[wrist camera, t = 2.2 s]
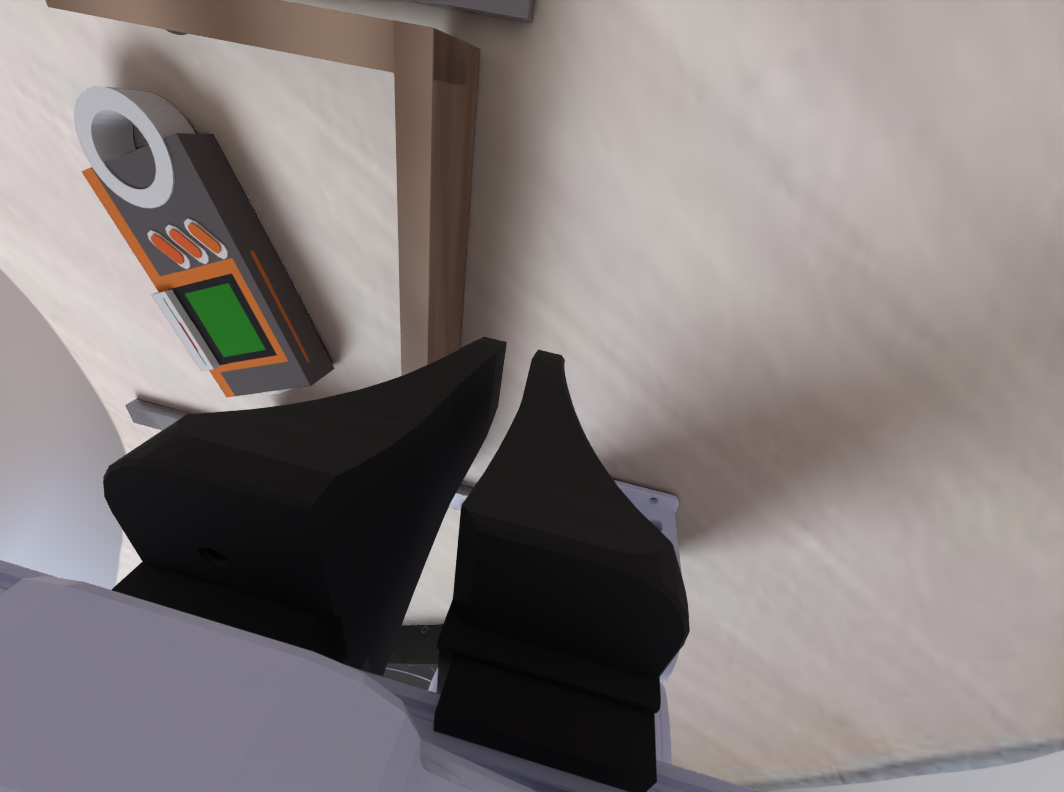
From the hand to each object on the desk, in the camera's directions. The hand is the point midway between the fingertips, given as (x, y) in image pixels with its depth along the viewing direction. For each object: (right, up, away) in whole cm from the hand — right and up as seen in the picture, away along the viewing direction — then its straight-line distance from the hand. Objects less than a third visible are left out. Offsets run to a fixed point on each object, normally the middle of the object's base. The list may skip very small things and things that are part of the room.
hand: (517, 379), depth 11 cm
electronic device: (-16, +7, +12) cm, 22 cm away
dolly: (-10, +5, +12) cm, 16 cm away
